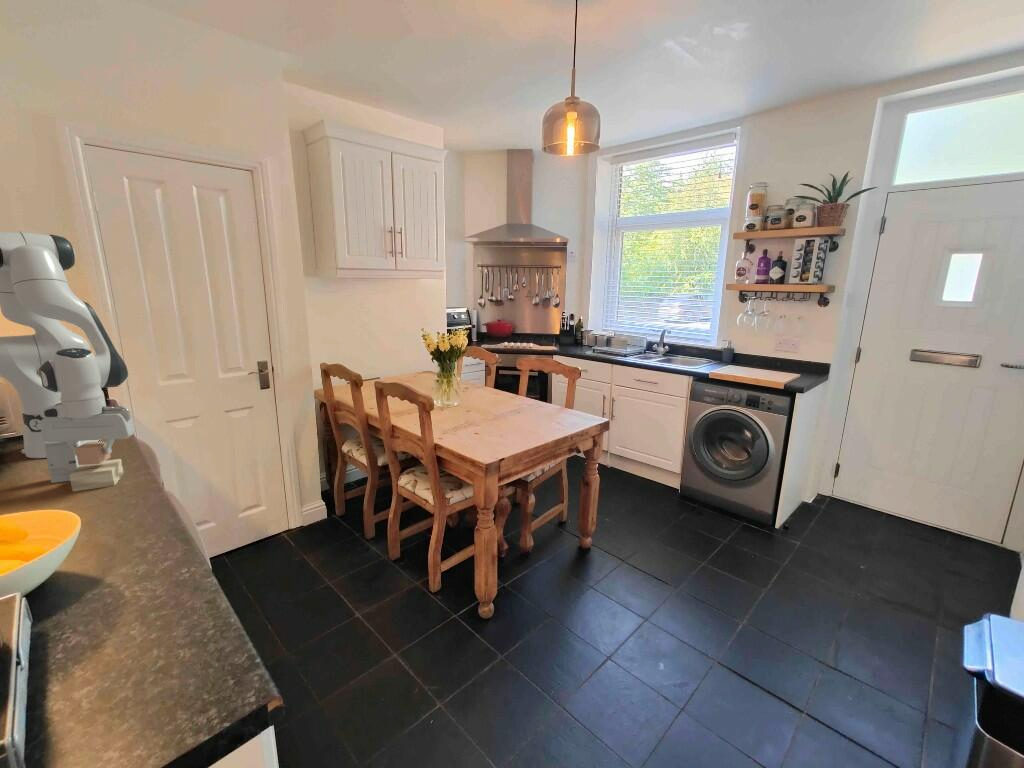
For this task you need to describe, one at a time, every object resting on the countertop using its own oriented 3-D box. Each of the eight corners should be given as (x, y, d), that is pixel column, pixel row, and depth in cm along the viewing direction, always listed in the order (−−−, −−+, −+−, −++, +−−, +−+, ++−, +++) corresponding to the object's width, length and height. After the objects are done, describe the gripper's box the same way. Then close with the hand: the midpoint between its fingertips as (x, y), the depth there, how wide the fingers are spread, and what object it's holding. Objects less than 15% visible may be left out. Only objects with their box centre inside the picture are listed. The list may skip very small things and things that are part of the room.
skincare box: (51, 484, 128) (42, 443, 125) (55, 478, 132) (46, 439, 129) (80, 479, 131) (72, 440, 129) (83, 473, 135) (75, 435, 132)
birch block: (84, 479, 132) (81, 463, 131) (123, 474, 136) (121, 458, 135) (72, 492, 124) (69, 475, 123) (114, 486, 128) (111, 470, 127)
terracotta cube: (90, 458, 130) (87, 442, 129) (110, 457, 131) (107, 441, 130) (78, 465, 126) (75, 448, 124) (99, 464, 127) (96, 447, 126)
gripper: (134, 403, 130) (142, 448, 133) (49, 405, 126) (59, 452, 129) (121, 409, 124) (129, 456, 127) (31, 412, 120) (42, 460, 123)
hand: (93, 454), depth 128 cm, fingers closed on terracotta cube, 5 cm apart
